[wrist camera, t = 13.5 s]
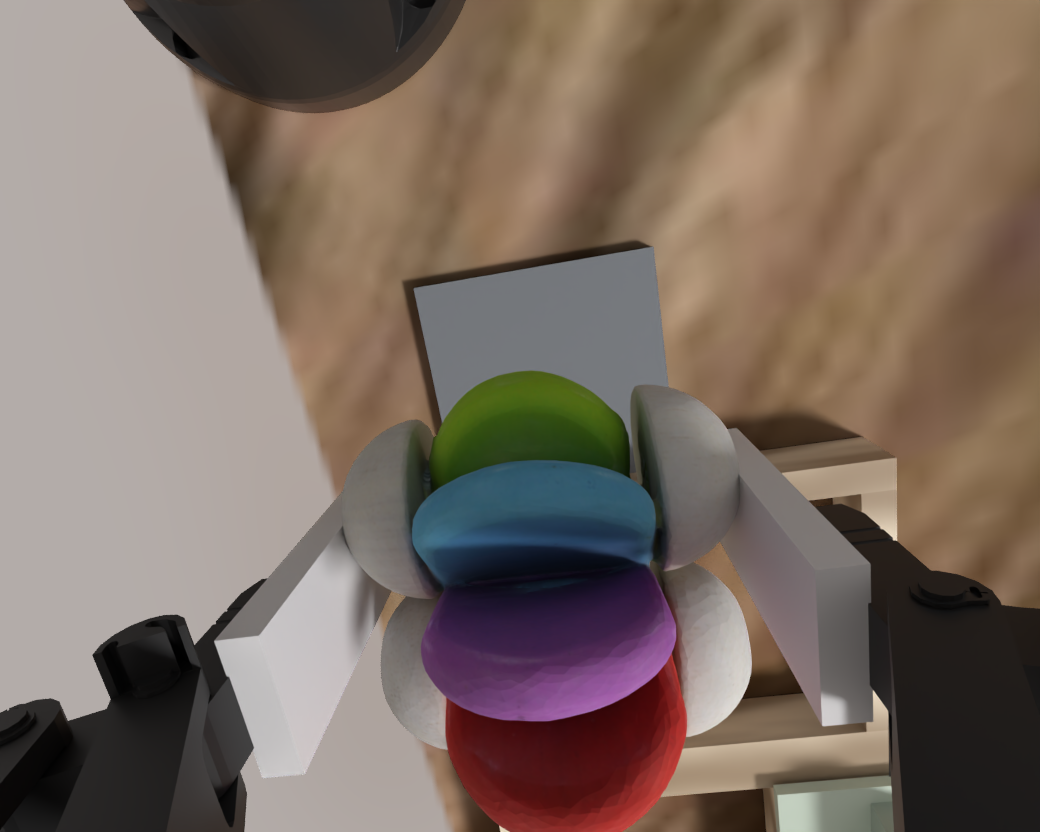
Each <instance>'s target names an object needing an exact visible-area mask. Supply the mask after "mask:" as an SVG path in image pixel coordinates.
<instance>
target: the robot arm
mask: <svg viewBox="0 0 1040 832" xmlns="http://www.w3.org/2000/svg"><path fill="white" fill-rule="evenodd" d="M124 1H125V2H126V4H127V5H128V6H129V8H130V9H131V10H132V11H133V13H134V14H135V15H136V16H137V18H138V19H139V20H140V21H141V23H142V24H143V25H144V26H145V27H146V28H147V29H148V30H149V32H150V33H151V34H152V35H153V36H154V37H155V38H156V39H157V40H158V41H159V42H160V43H161V44H162V45H163V46H164V47H165V48H166V49H168V50H169V51H170V52H171V53H172V54H173V55H175V56H176V57H177V58H178V59H179V60H181V61H182V62H183V63H185V64H186V65H187V66H189V67H190V68H191V69H193V70H194V71H196V72H197V73H199V74H200V75H202V76H204V77H205V78H207V79H208V80H210V81H212V82H214V83H216V84H218V85H220V86H222V87H224V88H226V89H228V90H230V91H232V92H234V93H236V94H239V95H241V96H243V97H245V98H247V99H250V100H252V101H254V102H257V103H260V104H263V105H266V106H269V107H273V108H276V109H280V110H286V111H292V112H302V113H324V112H334V111H340V110H345V109H349V108H353V107H357V106H360V105H362V104H365V103H368V102H370V101H373V100H375V99H377V98H379V97H381V96H383V95H385V94H387V93H389V92H390V91H392V90H393V89H395V88H397V87H398V86H400V85H401V84H402V83H404V82H405V81H406V80H408V79H409V78H410V77H411V76H413V75H414V74H415V73H416V72H417V71H418V70H419V69H420V68H421V67H422V66H423V65H424V64H425V63H426V62H427V61H428V60H429V59H430V58H431V57H432V56H433V54H434V53H435V52H436V51H437V49H438V48H439V47H440V46H441V44H442V43H443V41H444V40H445V38H446V37H447V35H448V34H449V32H450V30H451V29H452V27H453V25H454V24H455V22H456V20H457V18H458V16H459V14H460V12H461V10H462V8H463V5H464V3H465V1H466V0H124ZM727 430H728V432H729V434H730V436H731V438H732V441H733V444H734V447H735V451H736V454H737V459H738V463H739V470H740V472H739V481H740V503H739V508H738V511H737V514H736V517H735V519H734V521H733V523H732V525H731V526H730V528H729V530H728V531H727V533H726V534H725V536H724V537H723V538H722V539H721V540H720V542H721V544H722V546H723V548H724V549H725V551H726V553H727V555H728V557H729V558H730V560H731V562H732V564H733V566H734V567H735V569H736V571H737V573H738V575H739V577H740V578H741V580H742V582H743V584H744V586H745V587H746V589H747V591H748V593H749V595H750V596H751V598H752V600H753V602H754V604H755V606H756V607H757V609H758V611H759V613H760V615H761V616H762V618H763V620H764V622H765V624H766V625H767V627H768V629H769V631H770V633H771V634H772V636H773V638H774V640H775V642H776V644H777V645H778V647H779V649H780V651H781V653H782V654H783V656H784V658H785V660H786V662H787V663H788V665H789V667H790V669H791V671H792V672H793V674H794V676H795V678H796V680H797V682H798V683H799V685H800V687H801V689H802V691H803V692H804V694H805V696H806V698H807V700H808V701H809V703H810V705H811V707H812V709H813V710H814V712H815V714H816V716H817V718H818V720H819V721H820V723H821V725H822V726H832V725H843V724H854V723H865V722H873V690H874V692H875V693H876V695H877V696H878V697H879V699H880V700H881V702H882V703H883V704H884V706H885V707H886V709H887V710H888V735H889V777H891V788H892V806H893V823H894V832H1040V609H1035V608H1021V607H1013V606H1005V605H1001V602H1000V600H999V599H998V598H997V597H996V595H995V594H994V593H993V591H992V590H990V589H989V588H987V587H985V586H984V585H982V584H980V583H979V582H977V581H975V580H972V579H969V578H966V577H963V576H960V575H958V574H952V573H946V572H940V571H931V570H929V569H928V568H927V567H926V566H925V565H924V564H923V563H921V562H920V561H919V560H918V559H917V558H916V557H915V556H913V555H912V554H911V553H910V552H909V551H908V550H906V549H905V548H904V547H903V546H902V545H901V544H900V543H898V542H897V541H896V540H894V541H893V537H892V536H890V535H889V534H888V533H887V532H886V531H885V530H884V529H881V528H880V526H879V525H878V524H877V523H875V522H874V521H873V520H872V519H871V518H870V517H869V516H867V515H866V514H865V513H863V512H860V511H858V510H856V509H853V508H851V507H848V506H846V505H843V504H834V505H826V506H818V507H814V506H813V505H812V504H811V503H810V502H809V501H808V500H807V499H806V498H805V497H804V496H803V495H802V494H801V493H800V492H799V491H798V490H797V489H796V488H795V487H794V486H793V485H792V484H791V483H790V482H789V481H788V479H787V478H786V477H785V476H784V475H783V474H782V473H781V472H780V471H779V470H778V469H777V468H776V467H775V466H774V465H773V464H772V463H771V462H770V461H769V460H768V459H767V458H766V457H765V456H764V455H763V454H762V453H761V452H760V451H759V450H758V449H757V448H756V447H755V446H754V445H753V444H752V443H751V442H750V441H749V440H748V439H747V438H746V437H745V436H744V435H743V434H742V433H741V432H740V431H739V430H738V429H737V428H733V429H727ZM342 495H343V492H342V493H341V494H340V495H339V496H338V497H337V499H336V500H335V501H334V502H333V503H332V504H331V506H330V507H329V508H328V509H327V510H326V511H325V513H324V514H323V515H322V516H321V517H320V518H319V520H318V521H317V522H316V523H315V524H314V525H313V526H312V528H311V529H310V530H309V531H308V532H307V533H306V535H305V536H304V537H303V538H302V539H301V540H300V542H299V543H298V544H297V545H296V546H295V547H294V549H293V550H292V551H291V552H290V553H289V554H288V556H287V557H286V558H285V559H284V560H283V562H281V564H280V565H279V566H278V567H277V568H276V569H275V571H274V572H273V573H272V574H271V575H270V576H269V578H268V579H262V580H260V581H259V582H257V583H256V584H254V585H253V586H251V587H250V588H249V589H247V590H246V591H244V592H243V593H241V594H240V595H239V596H238V598H237V599H236V600H235V601H234V602H233V603H232V604H231V605H230V606H229V608H228V609H227V610H228V611H227V612H224V613H223V614H222V615H221V616H220V618H219V619H218V620H217V621H216V624H215V625H212V626H211V628H210V629H209V630H208V631H207V632H206V633H205V634H204V635H203V637H202V638H201V639H200V640H199V641H198V642H197V643H196V644H195V645H194V643H193V641H192V638H191V635H190V633H189V630H188V627H187V624H186V621H185V619H184V618H183V617H181V616H179V615H163V616H159V617H154V618H150V619H147V620H144V621H142V622H139V623H137V624H134V625H132V626H130V627H128V628H126V629H124V630H122V631H120V632H119V633H117V634H115V635H114V636H112V637H111V638H109V639H108V640H107V641H105V642H104V643H103V644H101V645H100V646H99V648H98V649H97V650H96V651H95V653H94V654H93V658H94V660H95V662H96V665H97V667H98V670H99V672H100V674H101V677H102V679H103V682H104V684H105V687H106V689H107V691H108V694H109V696H110V698H111V700H110V703H109V705H108V707H107V709H105V710H102V711H99V712H96V713H92V714H89V715H86V716H83V717H80V718H76V719H73V720H70V721H68V720H67V718H66V716H65V714H64V711H63V709H62V707H61V705H60V702H59V701H56V700H54V699H42V700H35V701H32V702H29V703H26V704H19V705H17V706H14V707H12V708H9V711H7V710H5V711H3V712H1V713H0V832H244V827H245V812H246V798H247V792H246V788H245V784H244V781H243V778H242V776H241V773H240V770H241V769H242V767H243V765H244V764H245V762H246V760H247V759H248V757H249V755H250V754H251V752H252V750H253V753H254V756H255V759H256V762H257V764H258V767H259V770H260V773H261V776H262V778H269V777H280V776H291V775H302V774H305V773H306V770H307V768H308V766H309V764H310V762H311V760H312V758H313V756H314V754H315V752H316V749H317V747H318V745H319V743H320V741H321V739H322V737H323V734H324V732H325V730H326V728H327V726H328V724H329V722H330V720H331V717H332V715H333V713H334V711H335V709H336V707H337V705H338V703H339V701H340V699H341V696H342V694H343V692H344V690H345V688H346V686H347V684H348V682H349V680H350V677H351V675H352V673H353V671H354V669H355V667H356V665H357V663H358V660H359V658H360V656H361V654H362V652H363V650H364V648H365V646H366V644H367V641H368V639H369V637H370V635H371V633H372V631H373V629H374V627H375V625H376V622H377V620H378V618H379V616H380V614H381V612H382V610H383V608H384V605H385V603H386V601H387V599H388V597H389V595H390V593H391V590H389V589H387V588H385V587H384V586H382V585H380V584H379V583H378V582H376V581H375V580H374V579H372V578H371V577H370V576H369V575H368V574H367V573H366V572H365V571H364V570H363V569H362V568H361V566H360V565H359V564H358V562H357V561H356V560H355V558H354V556H353V555H352V553H351V551H350V549H349V547H348V544H347V541H346V538H345V535H344V530H343V523H342Z"/></svg>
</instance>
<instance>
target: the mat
mask: <svg viewBox="0 0 1040 832" xmlns="http://www.w3.org/2000/svg"><path fill="white" fill-rule="evenodd" d="M414 293H415V298H416V303H417V307H418V312H419V317H420V321H421V326H422V331H423V335H424V340H425V345H426V350H427V354H428V359H429V364H430V368H431V373H432V378H433V382H434V387H435V392H436V397H437V401H438V406H439V411H440V415H441V420H442V423H443V421H444V419H445V417H446V416H447V415H448V413H449V412H450V411H451V409H452V408H453V407H454V405H455V404H456V403H457V402H458V401H459V400H460V399H461V398H462V397H463V396H464V395H465V394H466V393H467V392H468V391H470V390H471V389H472V388H474V387H475V386H476V385H478V384H480V383H482V382H484V381H486V380H488V379H491V378H493V377H495V376H498V375H503V374H507V373H512V372H517V371H530V370H533V371H543V372H547V373H552V374H555V375H559V376H562V377H564V378H567V379H569V380H571V381H574V382H576V383H578V384H580V385H581V386H583V387H585V388H587V389H588V390H590V391H592V392H593V393H594V394H596V395H597V396H598V397H599V398H601V399H602V400H603V401H604V402H605V403H606V404H607V405H608V406H609V407H610V408H611V409H612V410H614V411H615V412H616V413H618V415H619V416H620V417H621V418H622V420H623V422H624V424H625V427H626V430H627V432H628V435H629V444H630V473H635V472H636V467H635V461H634V454H633V444H632V434H631V420H630V400H631V394H632V391H633V389H634V387H635V386H638V385H644V384H646V385H659V386H664V387H668V378H667V368H666V359H665V350H664V340H663V331H662V322H661V313H660V303H659V294H658V285H657V275H656V266H655V257H654V248H653V247H647V248H641V249H635V250H629V251H624V252H618V253H612V254H606V255H601V256H595V257H589V258H583V259H577V260H572V261H566V262H560V263H554V264H549V265H543V266H537V267H531V268H526V269H520V270H514V271H508V272H503V273H497V274H491V275H485V276H480V277H474V278H468V279H462V280H456V281H451V282H445V283H439V284H433V285H428V286H422V287H416V288H414Z"/></svg>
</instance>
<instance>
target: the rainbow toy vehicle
mask: <svg viewBox="0 0 1040 832" xmlns="http://www.w3.org/2000/svg"><path fill="white" fill-rule="evenodd" d="M630 420H631V434H632V444H633V454H634V461H635V467H636V474H637V480H638V483H637V482H635V481H634V480H632V479H631V477H630V444H629V435H628V432H627V430H626V427H625V424H624V422H623V420H622V418H621V417H620V416H619V415H618V413H616V412H615V411H614V410H612V409H611V408H610V407H609V406H608V405H607V404H606V403H605V402H604V401H603V400H602V399H601V398H599V397H598V396H597V395H596V394H594V393H593V392H592V391H590V390H588V389H587V388H585V387H583V386H581V385H580V384H578V383H576V382H574V381H571V380H569V379H567V378H564V377H562V376H559V375H555V374H552V373H547V372H543V371H533V370H530V371H517V372H512V373H507V374H503V375H498V376H495V377H493V378H491V379H488V380H486V381H484V382H482V383H480V384H478V385H476V386H475V387H474V388H472V389H471V390H470V391H468V392H467V393H466V394H465V395H464V396H463V397H462V398H461V399H460V400H459V401H458V402H457V403H456V404H455V405H454V407H453V408H452V409H451V411H450V412H449V413H448V415H447V416H446V417H445V419H444V421H443V423H442V425H441V427H440V429H439V432H438V434H437V436H435V437H433V435H432V432H431V430H430V429H429V427H428V426H427V425H425V424H424V423H423V422H422V421H420V420H408V421H405V422H403V423H400V424H397V425H395V426H393V427H391V428H389V429H387V430H386V431H384V432H382V433H381V434H379V435H378V436H377V437H376V438H374V439H373V440H372V441H371V442H370V443H369V444H368V445H367V446H366V447H365V448H364V450H363V451H362V452H361V453H360V454H359V456H358V457H357V459H356V460H355V462H354V463H353V465H352V467H351V469H350V471H349V473H348V475H347V478H346V481H345V485H344V489H343V495H342V523H343V530H344V535H345V538H346V541H347V544H348V547H349V549H350V551H351V553H352V555H353V556H354V558H355V560H356V561H357V562H358V564H359V565H360V566H361V568H362V569H363V570H364V571H365V572H366V573H367V574H368V575H369V576H370V577H371V578H372V579H374V580H375V581H376V582H378V583H379V584H380V585H382V586H384V587H385V588H387V589H389V590H391V591H393V592H396V593H399V594H402V595H404V596H406V597H405V599H404V600H403V601H402V602H401V603H400V605H399V606H398V607H397V608H396V610H395V611H394V613H393V615H392V616H391V618H390V620H389V622H388V625H387V627H386V630H385V633H384V638H383V643H382V651H381V678H382V685H383V690H384V694H385V697H386V700H387V702H388V704H389V706H390V708H391V710H392V712H393V714H394V715H395V716H396V718H397V719H398V720H399V722H400V723H401V724H402V725H403V726H404V727H405V728H406V729H407V730H408V731H409V732H410V733H411V734H413V735H414V736H415V737H417V738H418V739H420V740H421V741H423V742H425V743H427V744H430V745H432V746H435V747H438V748H441V749H446V750H448V752H449V756H450V759H451V761H452V763H453V765H454V768H455V770H456V772H457V774H458V776H459V778H460V780H461V782H462V784H463V786H464V788H465V789H466V790H467V792H468V793H469V795H470V796H471V797H472V799H473V800H474V801H475V802H476V803H477V805H478V806H479V807H480V808H481V809H482V810H483V811H484V812H485V813H486V814H487V815H488V816H489V817H490V818H491V819H492V820H493V821H494V822H496V823H497V824H498V825H499V826H501V827H502V828H504V829H505V830H507V831H509V832H622V831H624V830H625V829H627V828H628V827H630V826H631V825H633V824H634V823H635V822H636V821H637V820H639V819H640V818H641V817H642V816H644V815H645V814H646V813H647V812H648V810H649V809H650V808H651V807H652V806H653V805H655V804H656V802H657V801H658V800H659V798H660V797H661V795H662V793H663V792H664V790H665V789H666V788H667V786H668V783H669V782H670V780H671V778H672V776H673V774H674V772H675V770H676V767H677V764H678V762H679V759H680V756H681V753H682V749H683V746H684V742H685V739H686V737H691V736H694V735H697V734H701V733H703V732H705V731H707V730H709V729H711V728H713V727H715V726H716V725H718V724H719V723H720V722H722V721H723V720H724V719H726V718H727V717H728V716H729V715H730V714H731V713H732V711H733V710H734V709H735V708H736V707H737V705H738V704H739V702H740V700H741V699H742V697H743V695H744V693H745V691H746V689H747V686H748V683H749V679H750V676H751V666H752V660H751V649H750V643H749V636H748V631H747V627H746V623H745V620H744V616H743V613H742V611H741V608H740V606H739V604H738V602H737V600H736V598H735V597H734V595H733V594H732V593H731V591H730V590H729V589H728V588H727V587H726V586H725V585H724V584H723V583H722V582H721V581H720V580H719V579H718V578H717V577H716V576H715V575H713V574H712V573H711V572H709V571H708V570H706V569H705V568H703V567H702V566H700V565H698V564H695V563H693V562H694V561H696V560H697V559H699V558H701V557H702V556H704V555H705V554H707V553H708V552H709V551H710V550H712V549H713V548H714V547H715V546H716V545H717V544H718V543H719V542H720V540H721V539H722V538H723V537H724V536H725V534H726V533H727V531H728V530H729V528H730V526H731V525H732V523H733V521H734V519H735V517H736V514H737V511H738V508H739V503H740V481H739V472H740V470H739V463H738V459H737V454H736V451H735V447H734V444H733V441H732V438H731V436H730V434H729V432H728V430H727V428H726V427H725V425H724V424H723V423H722V421H721V420H720V419H719V418H718V417H717V416H716V415H715V414H714V413H713V412H712V411H711V410H710V409H709V408H708V407H706V406H705V405H704V404H703V403H702V402H701V401H699V400H697V399H695V398H694V397H692V396H690V395H688V394H686V393H684V392H681V391H679V390H676V389H673V388H669V387H664V386H659V385H646V384H644V385H638V386H635V387H634V389H633V391H632V394H631V400H630ZM650 561H651V562H650ZM649 563H650V566H649Z"/></svg>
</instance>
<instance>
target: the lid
mask: <svg viewBox="0 0 1040 832" xmlns="http://www.w3.org/2000/svg"><path fill="white" fill-rule="evenodd" d="M773 788H774V801H775V815H776V829H777V832H894V823H893V806H892V788H891V777H889V775H886V776H874V777H862V778H850V779H838V780H826V781H814V782H802V783H791V784H779V785H773Z"/></svg>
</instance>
